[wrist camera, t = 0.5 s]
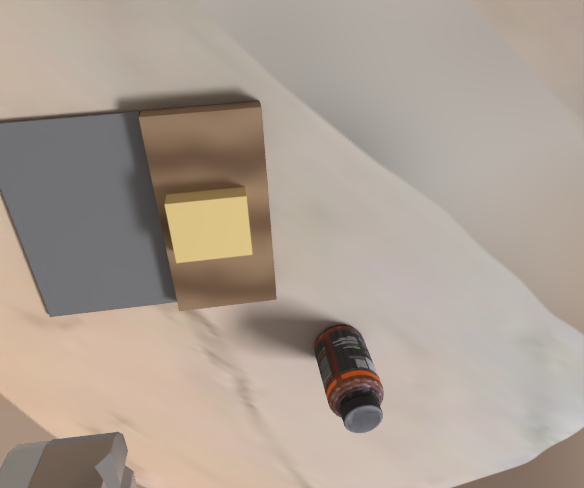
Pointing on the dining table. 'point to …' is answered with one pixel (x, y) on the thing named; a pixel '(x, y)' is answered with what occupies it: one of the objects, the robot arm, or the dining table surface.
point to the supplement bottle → (349, 378)
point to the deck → (211, 176)
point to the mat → (86, 211)
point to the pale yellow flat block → (209, 224)
